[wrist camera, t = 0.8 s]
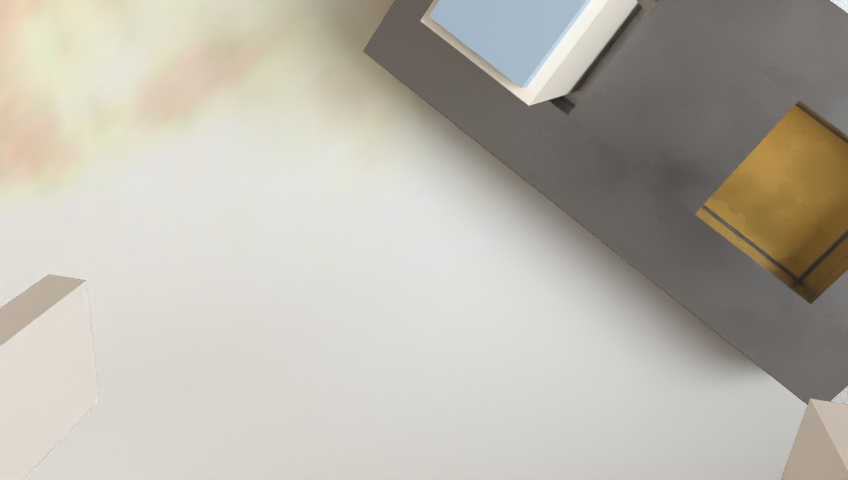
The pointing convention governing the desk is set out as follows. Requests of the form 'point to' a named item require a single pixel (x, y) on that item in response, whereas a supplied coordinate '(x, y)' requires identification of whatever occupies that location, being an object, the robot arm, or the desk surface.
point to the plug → (533, 39)
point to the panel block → (689, 161)
